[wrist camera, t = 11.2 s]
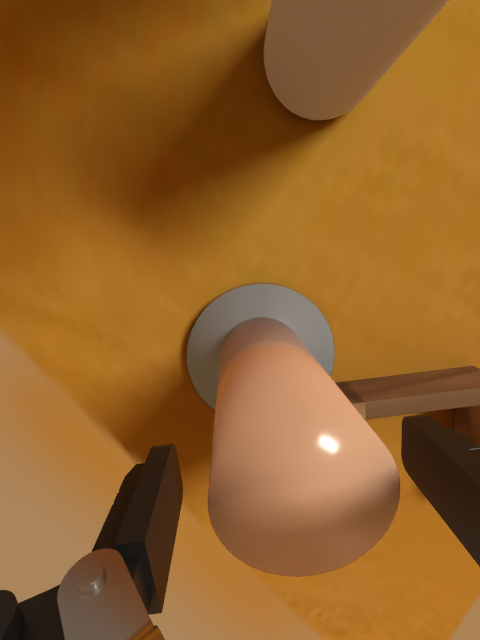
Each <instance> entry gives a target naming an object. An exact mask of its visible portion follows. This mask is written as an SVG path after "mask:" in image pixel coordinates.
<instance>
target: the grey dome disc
mask: <svg viewBox="0 0 480 640" xmlns="http://www.w3.org/2000/svg"><path fill="white" fill-rule="evenodd" d="M257 317H267V318H273V319H276V320H279V321H281V322H283V323H285V324H286V325H287V326H289V327H290V328H291V329H292V330H293V331H294V332H295V334H296V335H297V336H298V337H299V339H300V340H301V341H302V342H303V344H304V345H305V346H306V347H307V349H308V350H309V351H310V352H311V354H312V355H313V356H314V357H315V359H316V360H317V361H318V362H319V364H320V365H321V366H322V367H323V369H324V370H325V371H326V372H327V374H328V375H329V376H330V374H331V371H332V368H333V362H334V342H333V337H332V333H331V330H330V328H329V325H328V323H327V321H326V319H325V318H324V316H323V314H322V313H321V312H320V311H319V309H318V308H317V307H316V306H315V305H314V304H313V303H312V302H311V301H310V300H308V299H307V298H305V297H304V296H303V295H301V294H300V293H298V292H296V291H294V290H292V289H289V288H287V287H284V286H281V285H276V284H269V283H253V284H247V285H242V286H239V287H236V288H233V289H231V290H229V291H227V292H225V293H223V294H222V295H220V296H219V297H217V298H216V299H215V300H213V301H212V302H211V303H210V304H209V305H208V306H207V307H206V308H205V309H204V310H203V311H202V313H201V314H200V316H199V317H198V319H197V321H196V323H195V325H194V327H193V329H192V331H191V334H190V337H189V341H188V346H187V367H188V371H189V375H190V378H191V381H192V383H193V385H194V387H195V389H196V391H197V392H198V394H199V395H200V396H201V398H202V399H203V400H204V401H205V402H206V403H207V404H208V405H209V406H210V407H211V408H212V409H214V410H215V408H216V396H217V384H218V372H219V360H220V351H221V347H222V344H223V341H224V339H225V338H226V336H227V335H228V333H229V332H230V331H231V330H232V329H233V328H234V327H235V326H237V325H238V324H240V323H241V322H244V321H246V320H249V319H252V318H257Z"/></svg>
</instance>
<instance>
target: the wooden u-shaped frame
mask: <svg viewBox="0 0 480 640" xmlns="http://www.w3.org/2000/svg"><path fill="white" fill-rule="evenodd" d="M335 384H336V385H337V386H338V387H339V389H340V390H341V391H342V392H343V394H344V395H345V396H346V397H347V399H348V400H349V401H350V402H351V404H352V405H353V406H354V407H355V409H356V410H357V411H358V412H359V414H360V415H361V416H362V417H363V419H364V420H365V421H366V419H372V418H380V417H388V416H396V415H404V414H412V413H420V412H428V411H436V410H444V409H452V408H455V412H454V430H455V431H457V432H459V433H461V434H463V435H465V436H466V437H468V438H469V439H470V440H471V441H473V442H474V443H475V444H476V445H478V446H479V447H480V369H479V368H476V367H474V366H469V367H461V368H453V369H445V370H437V371H429V372H420V373H412V374H404V375H396V376H388V377H380V378H372V379H364V380H356V381H347V382H339V383H335Z"/></svg>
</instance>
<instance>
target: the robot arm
mask: <svg viewBox="0 0 480 640" xmlns="http://www.w3.org/2000/svg"><path fill="white" fill-rule="evenodd" d="M401 456H402V461H403V465H404V467H405V470H406V472H407V473H408V475H409V476H410V477H411V479H412V480H413V481H414V483H415V484H416V485H417V486H418V488H419V489H420V490H421V492H422V493H423V494H424V495H425V497H426V498H427V499H428V501H429V502H430V503H431V504H432V506H433V507H434V508H435V510H436V511H437V512H438V513H439V515H440V516H441V517H442V519H443V520H444V521H445V523H446V524H447V525H448V526H449V528H450V529H451V530H452V532H453V533H454V534H455V535H456V537H457V538H458V539H459V541H460V542H461V543H462V544H463V546H464V547H465V548H466V550H467V551H468V552H469V553H470V555H471V556H472V557H473V559H474V560H475V561H476V562H477V564H478V565H479V566H480V447H479V446H478V445H476V444H475V443H474V442H473V441H471V440H470V439H469V438H468V437H466V436H465V435H463V434H461V433H459V432H457V431H455V430H453V429H451V428H449V427H447V428H444V427H443V426H442V425H441V424H440V423H439V422H437V421H436V420H435V419H434V418H433V417H431V416H430V415H428V414H424V415H416V416H407V417H404V418H403V421H402V448H401ZM182 496H183V486H182V478H181V473H180V468H179V463H178V457H177V452H176V448H175V445H174V444H170V445H162V446H153V447H151V449H150V452H149V454H148V457H147V459H146V462H145V463H143V464H136V465H135V466H134V467H133V468H132V470H131V471H130V472H129V473H128V474H127V475H126V476H125V478H124V480H123V482H122V485H121V487H120V489H119V493H118V494H117V496H116V498H115V500H114V505H112V507H111V509H110V512H109V514H108V516H107V518H106V521H105V523H104V525H103V527H102V530H101V532H100V534H99V537H98V539H97V541H96V543H95V545H94V548H93V550H92V552H91V553H89V554H88V555H86V556H84V557H83V558H81V559H80V560H79V561H78V562H77V563H75V565H73V566H72V567H71V569H70V570H69V571H68V572H67V574H66V575H65V577H64V578H63V580H62V582H61V584H60V585H58V586H56V587H54V588H52V589H50V590H48V591H45V592H43V593H41V594H38V595H36V596H34V597H32V598H29V599H27V600H25V601H23V602H20V603H18V602H17V600H16V597H15V595H14V594H13V593H12V592H10V591H7V590H0V640H165V639H164V637H163V635H162V633H161V631H160V630H159V628H158V627H157V626H154V625H153V623H152V622H151V619H150V617H149V614H157V613H162V609H163V604H164V598H165V593H166V587H167V581H168V576H169V570H170V565H171V559H172V554H173V548H174V543H175V537H176V532H177V526H178V520H179V515H180V510H181V504H182Z"/></svg>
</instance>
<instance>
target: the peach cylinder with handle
mask: <svg viewBox="0 0 480 640" xmlns="http://www.w3.org/2000/svg"><path fill="white" fill-rule="evenodd" d="M399 497H400V479H399V474H398V470H397V466H396V464H395V461H394V459H393V457H392V455H391V454H390V452H389V450H388V449H387V447H386V446H385V445H384V444H383V442H382V441H381V440H380V439H379V437H378V436H377V435H376V434H375V432H374V431H373V430H372V429H371V427H370V426H369V425H368V424H367V422H366V421H365V420H364V419H363V417H362V416H361V415H360V414H359V412H358V411H357V410H356V409H355V407H354V406H353V405H352V404H351V402H350V401H349V400H348V399H347V397H346V396H345V395H344V394H343V392H342V391H341V390H340V389H339V387H338V386H337V385H336V384H335V382H334V381H333V380H332V379H331V377H330V376H329V375H328V374H327V372H326V371H325V370H324V369H323V367H322V366H321V365H320V364H319V362H318V361H317V360H316V359H315V357H314V356H313V355H312V354H311V352H310V351H309V350H308V349H307V347H306V346H305V345H304V344H303V342H302V341H301V340H300V339H299V337H298V336H297V335H296V334H295V332H294V331H293V330H292V329H291V328H290V327H289V326H287V325H286V324H285V323H283V322H281V321H279V320H276V319H273V318H267V317H257V318H252V319H249V320H246V321H244V322H241V323H240V324H238V325H237V326H235V327H234V328H233V329H232V330H231V331H230V332H229V333H228V335H227V336H226V338H225V339H224V341H223V344H222V347H221V351H220V360H219V372H218V384H217V396H216V408H215V420H214V432H213V444H212V456H211V468H210V480H209V491H208V511H209V516H210V520H211V524H212V526H213V528H214V531H215V533H216V535H217V536H218V538H219V540H220V541H221V542H222V544H223V545H224V546H225V547H226V548H227V550H228V551H230V552H231V553H232V554H233V555H234V556H235V557H236V558H238V559H239V560H241V561H242V562H244V563H245V564H247V565H249V566H251V567H253V568H255V569H258V570H261V571H263V572H267V573H271V574H275V575H282V576H296V577H300V576H312V575H317V574H323V573H326V572H329V571H333V570H336V569H338V568H341V567H343V566H345V565H347V564H349V563H351V562H353V561H355V560H356V559H358V558H359V557H361V556H362V555H364V554H365V553H366V552H367V551H369V550H370V549H371V548H372V547H373V546H374V545H375V544H376V543H377V542H378V541H379V540H380V539H381V538H382V536H383V535H384V534H385V532H386V531H387V529H388V528H389V526H390V524H391V522H392V521H393V518H394V516H395V513H396V511H397V507H398V503H399Z"/></svg>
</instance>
